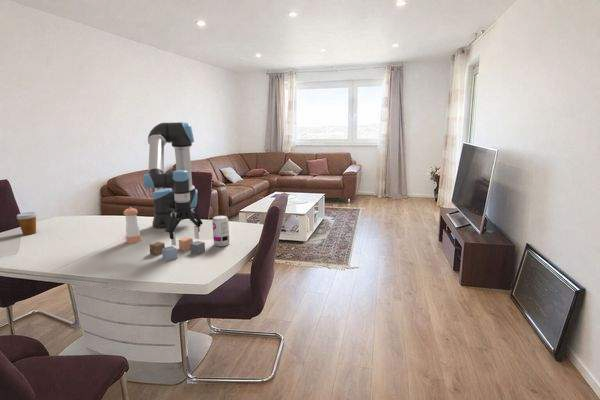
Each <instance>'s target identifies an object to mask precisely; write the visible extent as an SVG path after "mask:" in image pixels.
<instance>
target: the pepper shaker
mask: <svg viewBox="0 0 600 400" xmlns="http://www.w3.org/2000/svg"><path fill="white" fill-rule="evenodd" d="M138 213H139V211H138V209H137V208H134V207H131V206H130V207H128V208H126V209H125V210H124V211H123V215H124V216H125V222H126V223H125V238H126V239H125V240H126V243H127V244H137V243H140V242H141V241H142V236H141V233H140V226H139V223H138V217H137V215H138Z"/></svg>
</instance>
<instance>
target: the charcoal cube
mask: <svg viewBox="0 0 600 400" xmlns="http://www.w3.org/2000/svg"><path fill="white" fill-rule="evenodd" d="M189 250H190V254H193V255H197V256H199V255H201V254H203V253H205V252H206V244H205V242H203V241H200V240H196V241H193V243H190V249H189Z"/></svg>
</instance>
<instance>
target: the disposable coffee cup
mask: <svg viewBox="0 0 600 400" xmlns="http://www.w3.org/2000/svg"><path fill="white" fill-rule="evenodd" d="M16 220H17V221H18V225H19V227H20V230H21V232H22V233H21V234H22V236H29V235H31V236H32V235H35V234H37V214H36V212H33V211H32V212H22V213H19V214H16Z"/></svg>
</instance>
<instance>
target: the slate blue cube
mask: <svg viewBox="0 0 600 400" xmlns="http://www.w3.org/2000/svg"><path fill="white" fill-rule="evenodd" d="M177 252H178V250H177V247H174V245H171V246H167V247H165V248H162V254H161V255H162V259H163V260H165V261H167V262H168V261H172V260H176V259H178V253H177Z"/></svg>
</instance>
